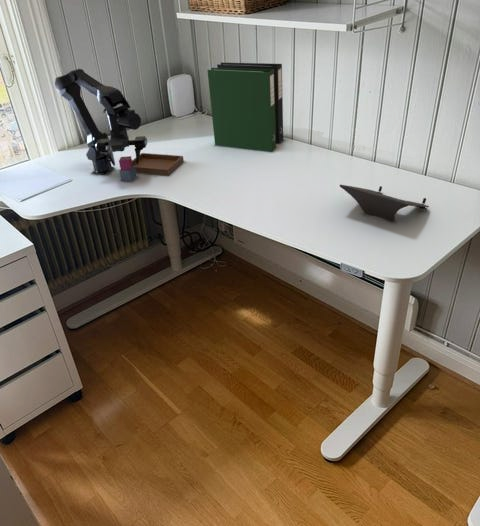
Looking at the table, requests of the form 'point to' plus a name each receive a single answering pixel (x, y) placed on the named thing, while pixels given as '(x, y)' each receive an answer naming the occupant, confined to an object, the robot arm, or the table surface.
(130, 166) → the mulberry block
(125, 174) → the slate block
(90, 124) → the robot arm
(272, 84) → the binder
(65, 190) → the table surface
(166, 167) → the tray
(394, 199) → the laptop tray
